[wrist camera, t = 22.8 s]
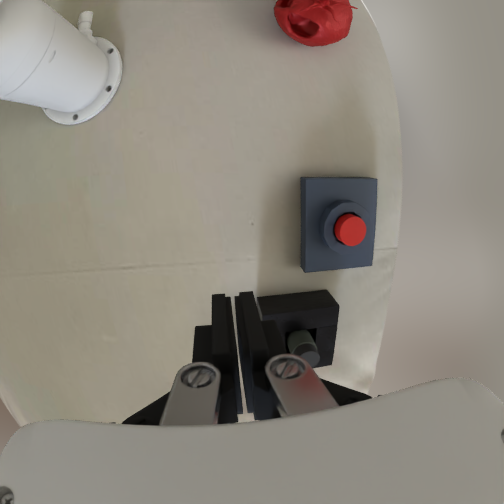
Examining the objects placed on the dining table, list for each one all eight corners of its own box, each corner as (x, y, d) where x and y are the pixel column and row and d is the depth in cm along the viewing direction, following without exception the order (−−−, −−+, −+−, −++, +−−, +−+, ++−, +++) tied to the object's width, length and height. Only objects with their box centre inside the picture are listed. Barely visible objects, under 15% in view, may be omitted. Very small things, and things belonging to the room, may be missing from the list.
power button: (334, 214, 33) (340, 217, 32) (360, 213, 34) (367, 216, 32) (333, 243, 35) (339, 247, 33) (359, 241, 35) (365, 245, 33)
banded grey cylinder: (280, 314, 41) (295, 352, 33) (302, 312, 41) (322, 347, 33) (280, 333, 42) (294, 372, 34) (301, 331, 42) (320, 368, 34)
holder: (256, 296, 40) (262, 315, 35) (326, 289, 41) (339, 305, 36) (258, 354, 43) (263, 375, 38) (321, 345, 44) (331, 364, 39)
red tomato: (325, -6, 27) (350, -37, 18) (350, 49, 30) (384, 26, 21) (259, -1, 27) (271, -37, 18) (283, 58, 30) (304, 30, 21)
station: (300, 177, 35) (310, 179, 31) (369, 177, 36) (384, 180, 32) (300, 266, 39) (308, 278, 35) (365, 260, 40) (378, 270, 36)
